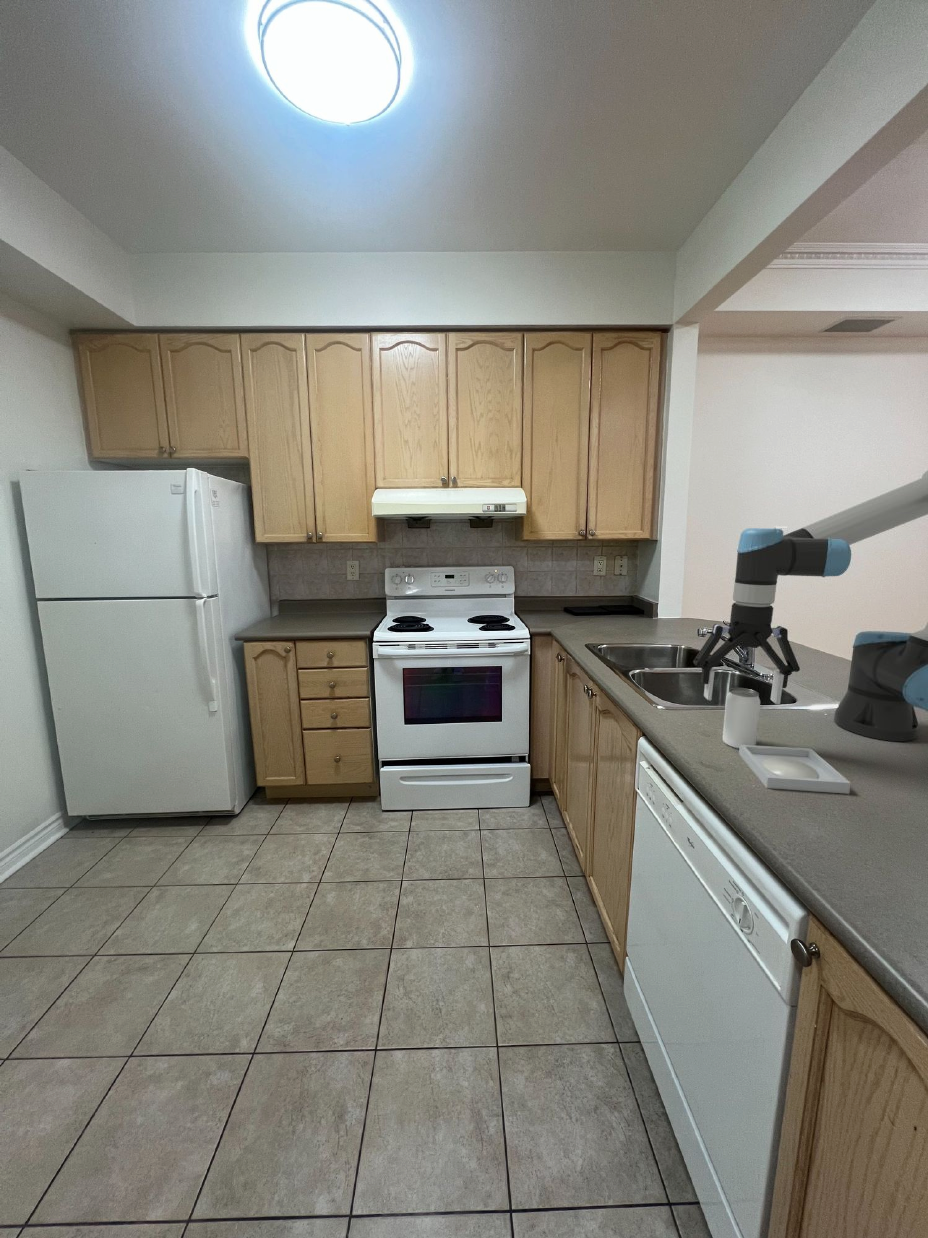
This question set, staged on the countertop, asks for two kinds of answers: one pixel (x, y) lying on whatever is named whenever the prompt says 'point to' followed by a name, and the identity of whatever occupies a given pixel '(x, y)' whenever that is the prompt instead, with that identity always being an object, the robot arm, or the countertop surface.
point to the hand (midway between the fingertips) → (740, 700)
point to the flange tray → (793, 769)
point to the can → (741, 717)
